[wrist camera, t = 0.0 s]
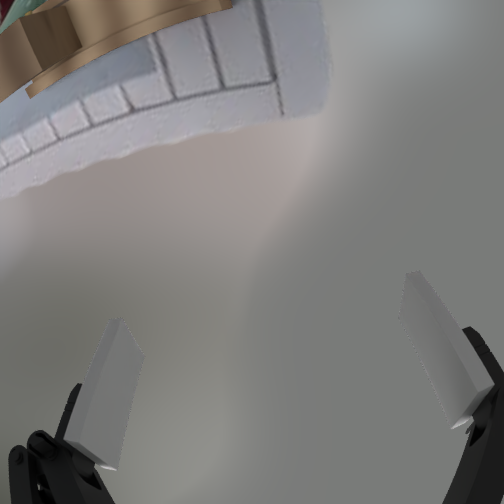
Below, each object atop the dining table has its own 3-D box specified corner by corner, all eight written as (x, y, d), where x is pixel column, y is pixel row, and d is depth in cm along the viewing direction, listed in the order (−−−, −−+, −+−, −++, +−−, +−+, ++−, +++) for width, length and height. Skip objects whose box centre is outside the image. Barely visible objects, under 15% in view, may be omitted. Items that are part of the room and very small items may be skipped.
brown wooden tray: (43, 88, 26) (28, 100, 23) (15, 28, 18) (-4, 35, 16) (231, 6, 23) (232, 7, 20) (207, -69, 16) (205, -77, 13)
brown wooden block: (42, 72, 23) (0, 102, 17) (20, 23, 18) (-28, 44, 12) (82, 47, 23) (42, 70, 17) (60, -5, 17) (13, 4, 11)
